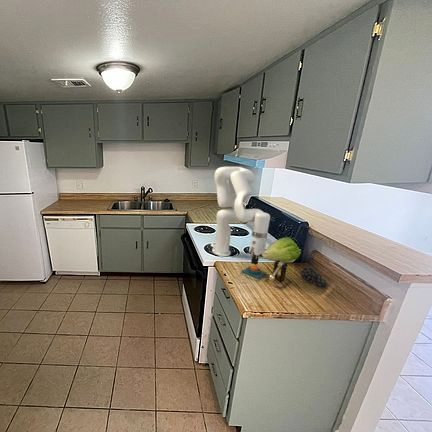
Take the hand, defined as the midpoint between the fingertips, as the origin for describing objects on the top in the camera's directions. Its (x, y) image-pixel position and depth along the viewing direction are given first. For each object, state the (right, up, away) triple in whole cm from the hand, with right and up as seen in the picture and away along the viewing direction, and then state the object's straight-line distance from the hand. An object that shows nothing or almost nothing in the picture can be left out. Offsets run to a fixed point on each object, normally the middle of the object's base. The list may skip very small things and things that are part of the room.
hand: (254, 263), depth 140 cm
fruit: (+29, -10, -7) cm, 31 cm away
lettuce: (+27, -2, +22) cm, 35 cm away
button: (0, -4, 0) cm, 4 cm away
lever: (+8, -4, -9) cm, 13 cm away
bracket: (+11, -9, -5) cm, 15 cm away
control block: (0, -7, +1) cm, 7 cm away
